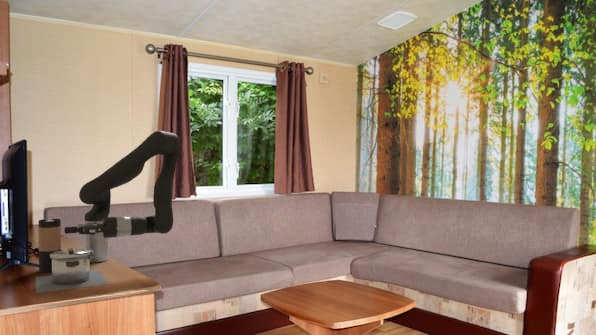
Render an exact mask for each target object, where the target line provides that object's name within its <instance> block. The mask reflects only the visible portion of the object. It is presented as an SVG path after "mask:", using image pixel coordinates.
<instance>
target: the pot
mask: <svg viewBox="0 0 596 335" xmlns="http://www.w3.org/2000/svg"><path fill="white" fill-rule="evenodd" d="M90 259H93V255H91V254H90V255H87V256H83V257H79V258H72V259H52V273H51V275H52V283H53V284H55V285H74V284H80V283H83V282H86V281H88V280H89V279H90V271H91V270H90V263H91V262H90Z"/></svg>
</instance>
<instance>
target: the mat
mask: <svg viewBox="0 0 596 335" xmlns="http://www.w3.org/2000/svg"><path fill="white" fill-rule="evenodd" d="M34 279H35V280H34V281H35V294H38V293H48V292H56V291H65V290H73V289H81V288H89V287H96V286H106V285H107V286H108V285H109V282H108V281H107V278H106V277H105V275H104V274H103V272H102V270H101V269H98V270H90V279H89V280H88V281H86V282H83V283H80V284H74V285H55V284H53V283H52V274H50V275H44V276H36V277H35V278H34Z"/></svg>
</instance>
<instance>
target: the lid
mask: <svg viewBox="0 0 596 335" xmlns="http://www.w3.org/2000/svg"><path fill="white" fill-rule="evenodd" d="M90 254H91V255H94V254H95V253H94V251H93V250H90V249H85V248H73V247H72V248H68V249H61V251H56V252H53V253H51V254H50V258H52V259H72V258H79V257H83V256H87V255H90Z"/></svg>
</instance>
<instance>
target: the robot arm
mask: <svg viewBox="0 0 596 335" xmlns="http://www.w3.org/2000/svg"><path fill="white" fill-rule="evenodd" d="M180 147H181V142H180V138H179V135H177V134H176V133H173V132H169V131H164V130H157V131H153V132H152V133H151V134H150V135H149V136H147V137H146V138H145V139H144V140H143V141H141V143H140V144H139V145H138V146H137V147H135V148H134V149H133V150H132V151H130V152H129V153H128V154H127V155H124V157H122V158H121V159H119V160H118V161H117V162H115V163H114V164H113V165H112V166H111V167H110V168H109V167H108V169H106V170H105V171H104V172H103V173H101V174H100V175H98V176H97V177H95V178H94V179H92V180H90V181H88V182H86V183H85V184H83V185H82V186H81V188H80V190H79V193H78V196H79V200H80V201H81V202H82V203H83V204H85V205H92V208H91V209H90V210H89V211H88V212H86V213H85V214H84V223H82V224H77V225H73V226H64V234H66V235H67V234H78V235H84V249H90V250H93V251H94V253H95V254H94V255H93V259H90V263H101V262H105V261H108V260H109V239H112V238H123V237H129V236H130V237H131V236H139V235H140V236H141V235H145V234H168V233H169V232H170V231H171V230H172V228H173V226H174V213H173V189H174V188H173V187H174V179H175V178H174V177H175V174H176V173H175V172H176V169H177V163H178V158H179V152H180ZM157 155H160V156H161V155H162V157H163V164H162V168H161V170H160V172H159V174H158V177H157V178H156V180H155V183H154V187H153V206H154V215H153V214H152V215H145V216H140V215H139V216H137V215H136V216H135V215H134V216H109V215H110V212H111V198H112V196H111V192H112V191H111V190H112V189H116V188H119V187H121V186H124V185H127V184H128V183H130V182H131V181H132V180H134V179H135V178H137V177H138V176H140V175H141V173H142V172H143V170H144V167H145V164H146V163H147V162H148V161H149V160H151V159H152V158H154V157H155V156H157Z"/></svg>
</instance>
